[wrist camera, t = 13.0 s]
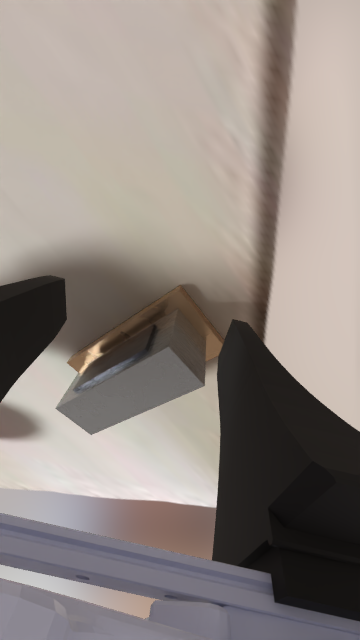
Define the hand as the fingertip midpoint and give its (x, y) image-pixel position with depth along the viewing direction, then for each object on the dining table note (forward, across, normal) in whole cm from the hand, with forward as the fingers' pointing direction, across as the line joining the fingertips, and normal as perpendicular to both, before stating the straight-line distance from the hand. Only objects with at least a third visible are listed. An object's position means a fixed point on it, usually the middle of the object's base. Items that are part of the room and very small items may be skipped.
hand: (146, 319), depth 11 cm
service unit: (+9, +1, +10) cm, 14 cm away
